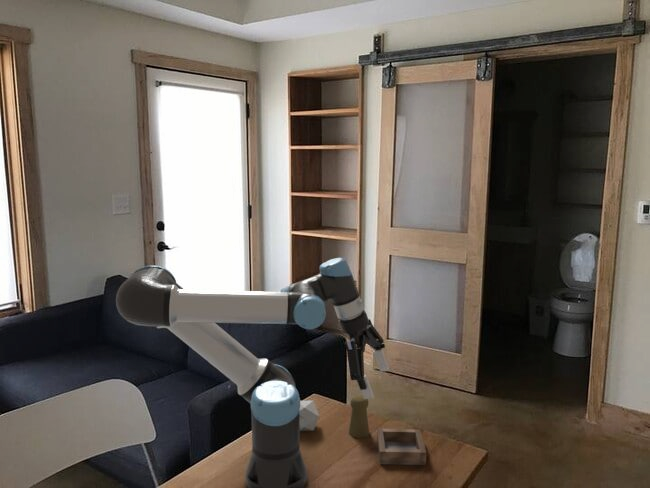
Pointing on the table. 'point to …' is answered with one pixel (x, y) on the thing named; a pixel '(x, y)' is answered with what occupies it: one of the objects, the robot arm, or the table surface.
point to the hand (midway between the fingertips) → (377, 383)
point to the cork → (359, 417)
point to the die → (308, 415)
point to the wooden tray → (401, 447)
